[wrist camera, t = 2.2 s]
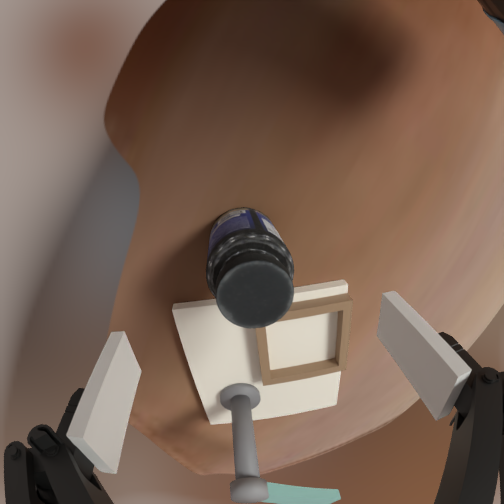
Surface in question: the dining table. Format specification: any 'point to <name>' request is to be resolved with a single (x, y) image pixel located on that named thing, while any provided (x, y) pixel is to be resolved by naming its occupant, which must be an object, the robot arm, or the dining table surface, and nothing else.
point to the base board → (267, 362)
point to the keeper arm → (279, 493)
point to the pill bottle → (249, 269)
